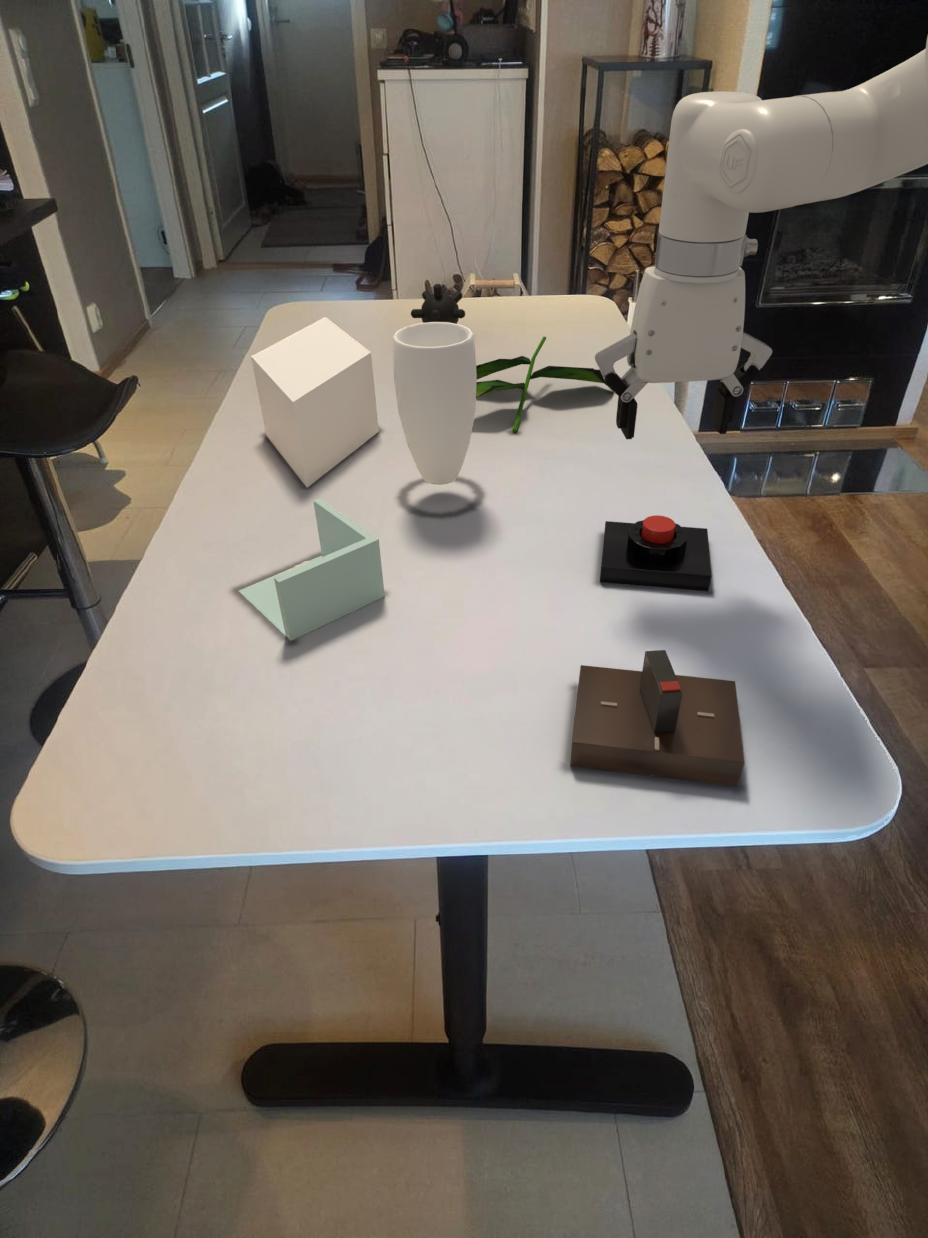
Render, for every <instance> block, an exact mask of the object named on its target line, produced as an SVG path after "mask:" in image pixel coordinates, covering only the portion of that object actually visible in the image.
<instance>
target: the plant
mask: <svg viewBox="0 0 928 1238" xmlns="http://www.w3.org/2000/svg"><path fill="white" fill-rule="evenodd" d="M546 340H547V336H542V338H541V339H540V342H539V344H538V345H537V347H536V349H535V351H534V352H533V355H532V357H531V359H530V358H529V357H527V356H524V355H520V356H516V357H515V358H498V359H494V360H491V361H487V362H484V363H481V364H478V365H477V364H476V373H477V380H480V379H482V378H486V377H488V376H490V375H492V374H495V373H498V372H502V371H505V370H508V369H512V368H514V367H518V366H521V365H529V366H528V371H527V374H526V378H525V381H524V382H517V383H512V382H509V381H505V380H502V379H493V380H484V381H483V380H482V381H477V380H476V398H478V397H483V396H484V395H488V394H489V395H490V394H493V393H496V392H504V391H509V390H521V391H522V393H521V396H520V400H519V404H518V408H517V410H516V411H517V412H516V415H515V419H514V423H513V426H512V431H511V432H513V433H517V431H518V428H519V423H520V419H521V416H522V412H523V408H524V404H525V401H526V397H527V392H528V389H529V384H530V381H531V380H534V379H538V378H548V379H560V380H561V379H562V380H573V381H575V380H576V381H582V382H590V383H599V384H604V385H606V386H607V388H609V389H610V390H611V391H612V392H613V393H615V392H614V391H613V390H612V389H611V388H610V387H609V386H608V385H607V383H606V382H605V380H604V378H603V376H602V373H601V371H600V369H595V368H593V367H578V366H561V365H560V366H558V365H547V366H544V367H542V368H540V369H538V370H535V371H533V369H534V365H535V361H536V359H537V356H538V354H539V352H540V351H541V349H542V347H543V345H544V344H545V342H546Z"/></svg>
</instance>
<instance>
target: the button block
mask: <svg viewBox="0 0 928 1238" xmlns="http://www.w3.org/2000/svg"><path fill="white" fill-rule="evenodd" d="M643 521H644V519H643V520H637V521H636V522H623V521H622V522H621V521H609V520H606V521H605V523H604V531H603V532H604V533H603V543H602V553H601V564H600V573H599V583H601V584H602V583H603V584H604V583H605V584H614V585H615V584H616V585H627V586H636V587H637V586H639V587H649V588H662V589H672V590H673V589H675V590H684V591H696V592H706V593H707V592H708V593H709V591H710V587H711V582H712V577H713V573H712V564H711V563H712V562H711V552H710V551H711V550H710V542H709V532H708V528H703V527H691V526H681V525H680V524H678V523H676V522H675V525H676V526H675V532H674V538H673V540H672V541H671V542H668V543H664V544H661V543H652V542H649V541H647V540H644V539H643V538H642V535H641V534H642V527H643Z"/></svg>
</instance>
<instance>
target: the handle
mask: <svg viewBox="0 0 928 1238" xmlns="http://www.w3.org/2000/svg"><path fill="white" fill-rule="evenodd" d="M641 671H642V676H641V683H640V691H641V694H642V697H643V700H644V703H645V706H646V709H647V712H648V715H649V718H650V721H651V723H652V726H653V729H654V732H655V733H657V732H673V731H675V730H676V725H677V719H678V714H679V709H680V704H681V699H682V690H681V688H680V685H679V683H678V680H677V678H676V675H677V674H676V672H675V670H674V668H673V665H672V662H671V660H670V657H669V655H668V654H667V651H666V649H659V650H658V649H656V650H644V657H643V664H642V670H641Z"/></svg>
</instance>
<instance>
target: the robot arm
mask: <svg viewBox="0 0 928 1238" xmlns="http://www.w3.org/2000/svg"><path fill="white" fill-rule="evenodd" d="M670 122H671V123H670V130H669V136H668V137H669V138H668V146H667V147H668V148H667V155H666V156H667V157H666V164H665V172H664V173H665V174H664V180H663V181H664V182H663V190H662V197H661V198H662V200H661V207H660V215H659V225H658V233H657V242H656V250H655V257H654V258H655V260H654V266H648V267H646V268H645V269H644V273H643V275H642V278H641V282H640V285H639V289H638V291H637V297H636V301H635V305H634V309H633V313H632V314H633V315H632V320H631V324H630V330H629V335H627V336H625V337H624V338H622V339H620V340H617V342H615V343H613V344H611V345H609V346H607V347H605V348H603V349H601V350H600V351H598V352H596V354H595V355H594V361H595V363H596V365H597V367H598V370H600V371H601V373H602V376H603V378H604V380H605V382H606V383H607V385H608V386H609V387H610V388H611V389H612V390H613V391H614V392H613V391H612V390H611V389H610V388H609V387H608V386H607V385H606V386H607V387H608V388H609V389H610V390H611V391H612V392H613V393H615V394H616V395H617V405H616V417H615V418H616V419H615V423H616V424H615V425H616V428H617V429H620V432H622V435H623V436H624V438H625V439H626V440H632V439H634V438H635V430H636V421H637V413H638V402H637V400H636V398H635V397H636V396H637V395H638V394H639V393H640V392H641V391H642V390H643V389H644V388H645V386H647V384H666V383H667V384H669V383H686V382H705V381H718V380H719V381H720V382H721V383H720V385H717V388H715V390H714V397H713V401H712V407H711V413H710V420H709V422H710V424H711V425H712V426H713V428H714V429H715V431H716V433H718V434H720V435H727V433H728V427H729V423H732V422H733V419H734V413H735V408H736V404H737V398H738V397H740V396H742V394H743V393H744V390H745V388H746V387H747V386H748V385H749V384H750V383H752V382H753V381H754V380H755V379H757V377H759V374H760V371H761V369H763V367H765V365H766V363H767V361H769V359H770V357H771V356H772V354H773V348H771V347H770V346H769V345H768V344H767V343H765V342H763V341H761V340H759V339H758V338H756V337H754V336H752V335H750V334H749V333H746V332H745V331H744V326H745V324H744V323H745V315H746V313H745V311H746V273H745V270H744V269H743V268H742V267H743V261H744V258H747V257H748V256H755V255H756V254H757V251H758V247H759V243H758V239H756V238H749V237H748V235H747V234H746V232H747V226H748V220H749V215H750V213H755V214H757V213H766V212H767V213H768V212H772V211H777V210H783V209H788V208H793V207H796V206H802V205H805V204H812V203H816V202H817V203H818V202H822V201H830V200H834V199H839V198H843V197H847V196H849V195H853V194H855V193H858V192H861V191H864V190H866V189H869V188H871V187H875V186H877V185H879V184H882V183H884V182H887V181H889V180H892V179H894V178H897V177H900V176H902V175H905V174H907V173H910V172H912V171H914V170H917V169H919V168H922V167H924V166H926V165H928V35H927V36H926V42H925V48H924V49H923V50H921V51H920V52H918V53H916V54H915V55H913V56H912V57H909V58H908V59H906V60H905V61H903V62H901V63H899V64H897V65H895V66H894V67H892V68H890V69H888V70H886V71H884V72H882V73H880V74H879V75H876V76H874V77H872V78H870V79H868V80H866V81H865V82H862V83H860V84H858V85H856V86H854V87H851V88H849V89H848V88H847V89H845V90H842V91H841V90H840V91H839V90H838V91H826V92H819V93H810V94H801V95H793V96H789V97H779V98H770V99H762V98H761V97H759V96H758V95H756V94H753V93H748V92H744V91H743V92H741V91H702V92H696V93H692V94H688V95H686V96H684V97H682V98H681V99H680V100H679V101H678V102H677V104H676V105H675V108H674V110H673V112H672V115H671V121H670ZM741 349H742V350H745V351H746V352H748V353H750V355H749V357H748V358H747V361H745V362H744V363H743V364H741V365H740V366H739V367H738V365H739V361H740V355H741ZM625 357H626V363H627V365H628V366H629V367H630V368H629V369H628V370H627V371H626V372H625V373H624V374H623V375H622V376H620V375H618V373H617V372H616V371H615V367H614V365H615V363H616V362H618V361H620V360H622V359H624V358H625Z"/></svg>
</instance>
